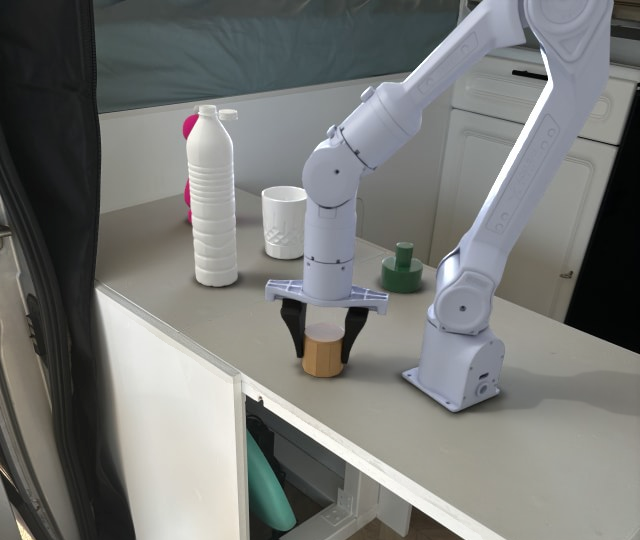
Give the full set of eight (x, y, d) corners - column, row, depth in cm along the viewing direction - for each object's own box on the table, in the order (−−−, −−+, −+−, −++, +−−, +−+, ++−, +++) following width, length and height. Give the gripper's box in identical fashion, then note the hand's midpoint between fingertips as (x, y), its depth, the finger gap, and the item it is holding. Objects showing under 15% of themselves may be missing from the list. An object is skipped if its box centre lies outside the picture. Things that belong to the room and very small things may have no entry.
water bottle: (187, 277, 103) (173, 103, 88) (219, 266, 107) (211, 98, 92) (223, 296, 98) (214, 115, 83) (255, 284, 102) (252, 109, 87)
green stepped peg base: (428, 287, 104) (434, 248, 100) (397, 296, 101) (402, 256, 97) (402, 273, 108) (407, 234, 104) (372, 281, 105) (375, 241, 101)
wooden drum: (350, 369, 83) (353, 335, 80) (317, 381, 80) (318, 346, 77) (327, 352, 86) (329, 318, 83) (294, 363, 84) (295, 328, 81)
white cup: (302, 263, 109) (304, 203, 103) (256, 258, 110) (255, 198, 104) (312, 246, 115) (314, 188, 109) (268, 241, 116) (268, 183, 110)
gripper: (395, 247, 77) (383, 348, 85) (274, 234, 78) (274, 334, 86) (390, 271, 71) (378, 377, 79) (260, 257, 73) (261, 362, 81)
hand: (323, 357), depth 82 cm, fingers closed on wooden drum, 5 cm apart
